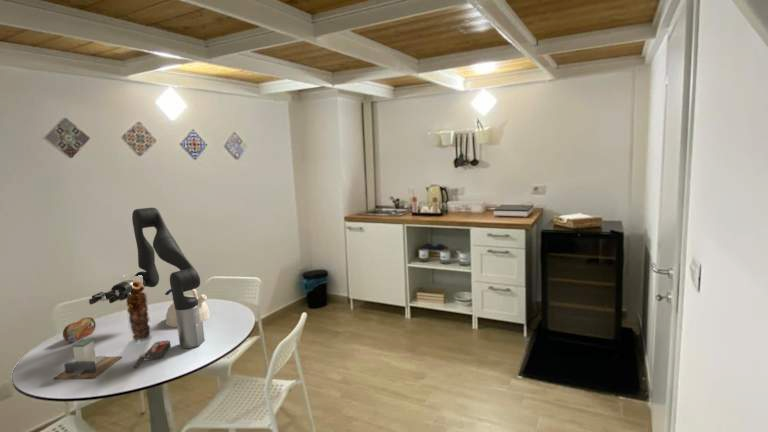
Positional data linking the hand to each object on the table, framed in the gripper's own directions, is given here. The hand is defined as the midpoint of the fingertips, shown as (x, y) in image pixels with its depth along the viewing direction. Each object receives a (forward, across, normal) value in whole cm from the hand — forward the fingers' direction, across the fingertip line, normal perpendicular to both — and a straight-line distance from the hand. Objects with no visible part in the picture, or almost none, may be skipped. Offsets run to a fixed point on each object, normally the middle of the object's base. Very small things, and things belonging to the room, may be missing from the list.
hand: (100, 301), depth 175 cm
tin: (-19, -27, +23) cm, 40 cm away
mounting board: (+10, -1, +24) cm, 26 cm away
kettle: (-38, +15, +24) cm, 47 cm away
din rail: (+10, -1, +24) cm, 26 cm away
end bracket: (+15, -1, +24) cm, 28 cm away
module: (+11, -1, +22) cm, 25 cm away
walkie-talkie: (+2, +20, +25) cm, 32 cm away
